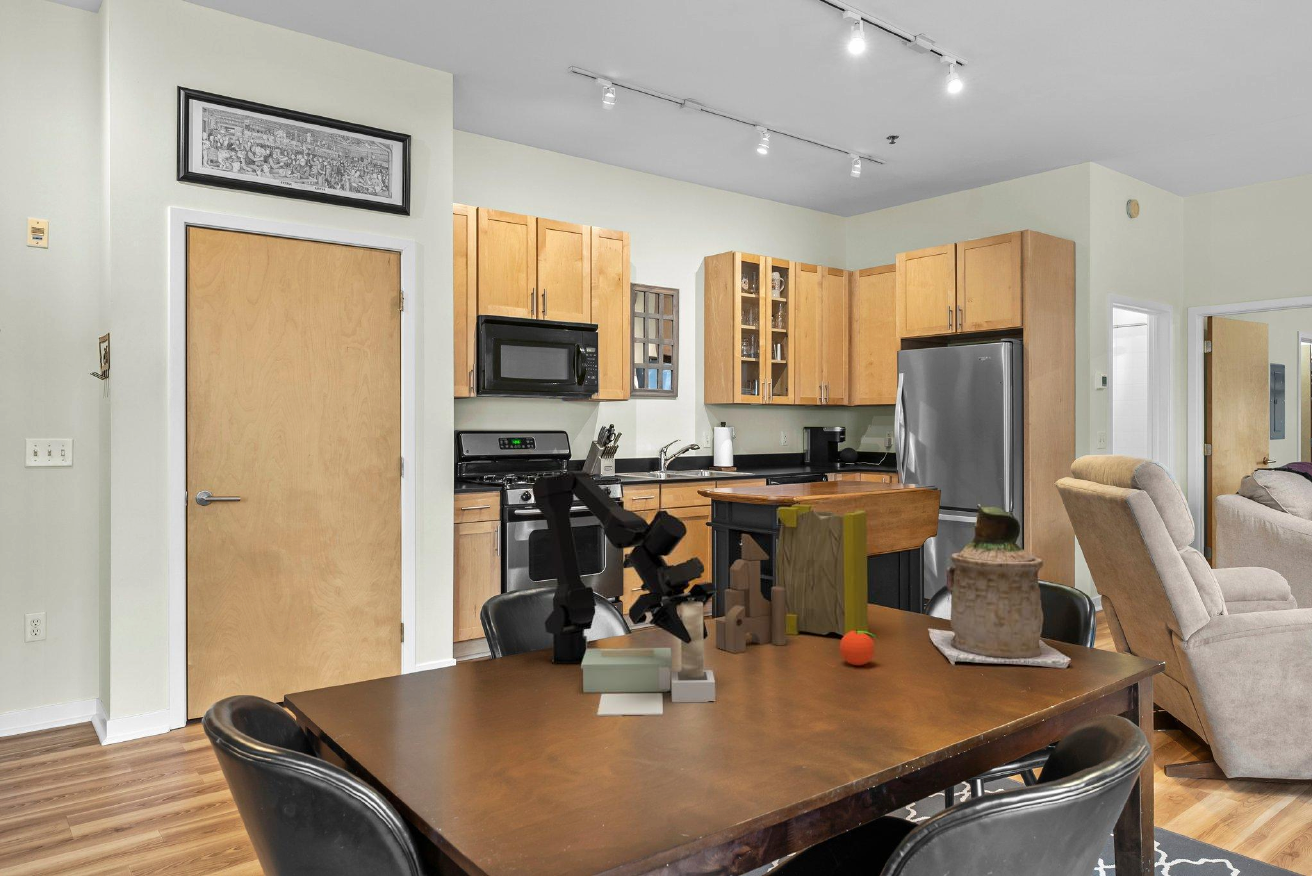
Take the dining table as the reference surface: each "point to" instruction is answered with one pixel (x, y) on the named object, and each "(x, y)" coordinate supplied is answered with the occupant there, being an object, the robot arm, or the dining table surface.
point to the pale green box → (642, 674)
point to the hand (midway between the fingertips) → (697, 640)
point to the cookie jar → (995, 599)
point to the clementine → (857, 647)
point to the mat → (630, 704)
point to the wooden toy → (750, 605)
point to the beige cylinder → (692, 640)
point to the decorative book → (823, 570)
